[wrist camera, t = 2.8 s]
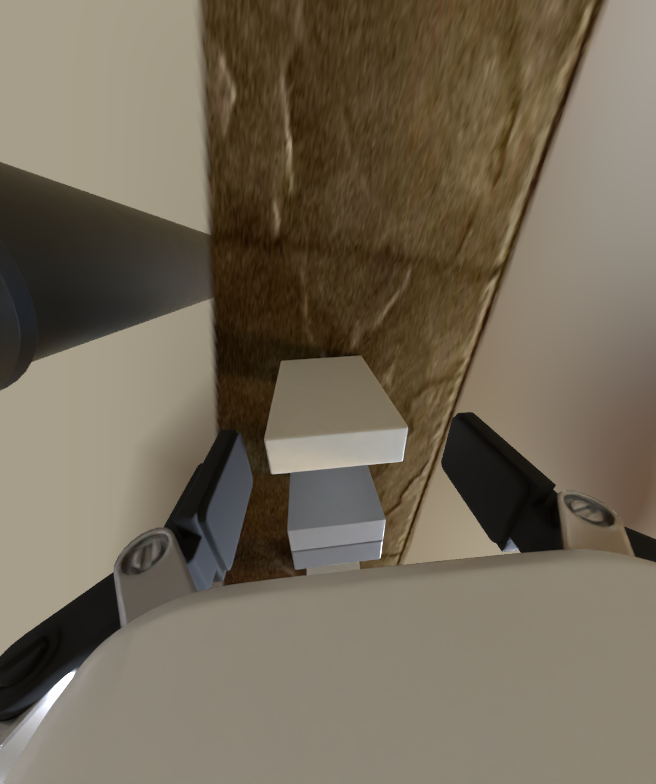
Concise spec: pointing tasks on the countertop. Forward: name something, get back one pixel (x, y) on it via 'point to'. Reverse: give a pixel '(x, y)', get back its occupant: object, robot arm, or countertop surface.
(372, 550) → the grey books
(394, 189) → the countertop surface
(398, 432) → the white book
